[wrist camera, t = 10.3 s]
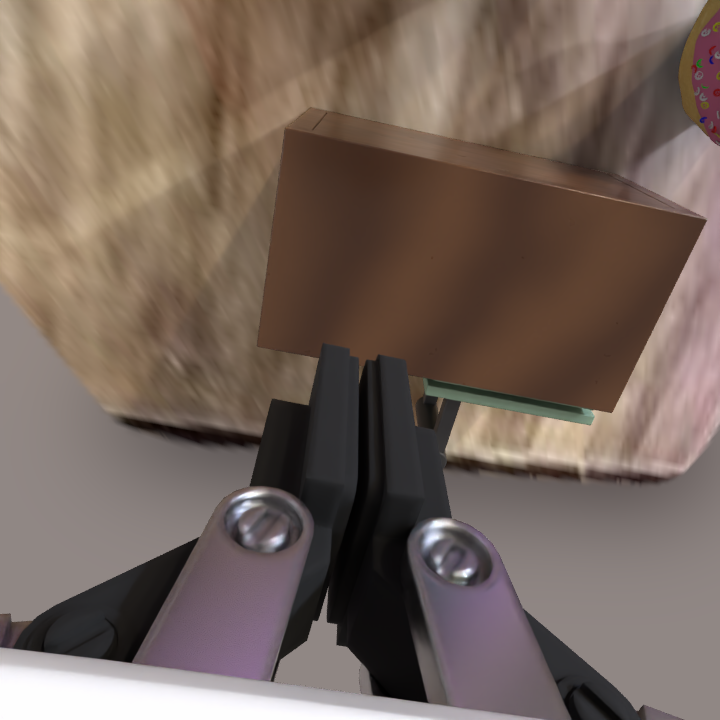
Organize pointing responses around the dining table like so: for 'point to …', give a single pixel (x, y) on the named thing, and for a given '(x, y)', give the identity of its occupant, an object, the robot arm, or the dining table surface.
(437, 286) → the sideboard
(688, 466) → the dining table surface
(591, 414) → the sliding door
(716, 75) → the cupcake
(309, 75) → the dining table surface
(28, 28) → the dining table surface
